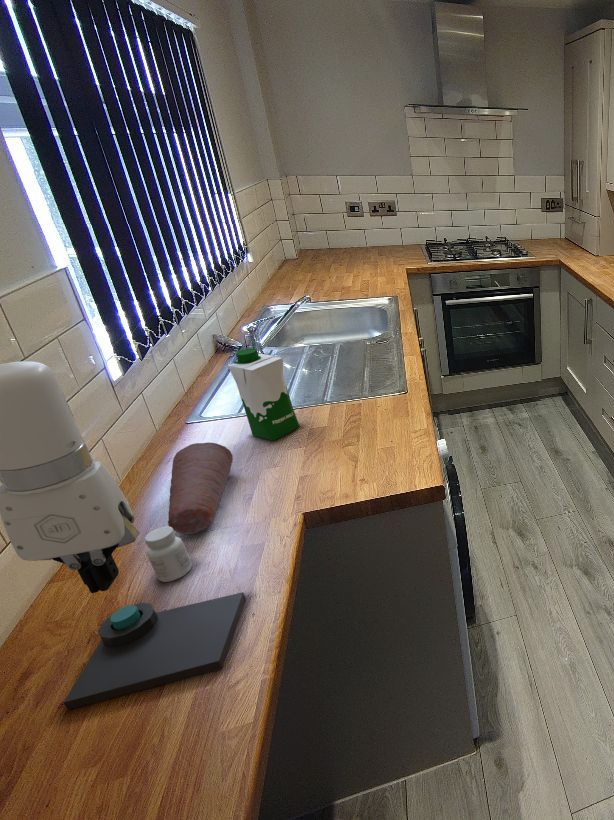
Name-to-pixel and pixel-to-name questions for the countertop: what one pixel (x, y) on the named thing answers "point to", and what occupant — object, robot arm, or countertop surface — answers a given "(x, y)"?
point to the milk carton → (264, 394)
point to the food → (197, 486)
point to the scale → (158, 649)
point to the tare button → (125, 617)
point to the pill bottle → (167, 554)
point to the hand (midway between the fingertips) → (105, 583)
